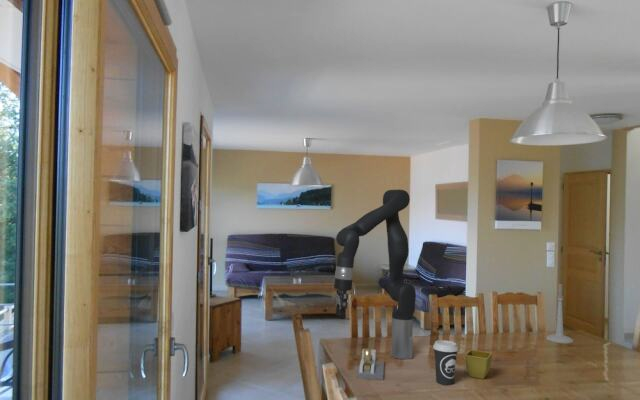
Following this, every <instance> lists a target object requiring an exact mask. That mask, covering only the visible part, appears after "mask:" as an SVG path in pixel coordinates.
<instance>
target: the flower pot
mask: <svg viewBox="0 0 640 400" xmlns="http://www.w3.org/2000/svg"><path fill="white" fill-rule="evenodd" d="M464 357H465V358H464V361H465V365H466V366H465V367H466V370H467V372H468V374H469V376H470V377H472V378H476V379H480V380H481V379H482V380H483V379H485V378H486V377H487V375H488V373H490V372H489V371H490V369H491V366H492V365H491V364H492V359H493V353H492V352H486V351H481V350H475V349H470V350H469V351H468V352H466V354H465V355H464Z"/></svg>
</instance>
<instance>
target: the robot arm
mask: <svg viewBox="0 0 640 400" xmlns="http://www.w3.org/2000/svg"><path fill="white" fill-rule="evenodd" d="M410 197H411V196H410V194H409V193H408V192H407V191H406V190H404V189H388V190H386V191H385V192H384V193H383V196H382V205H380V206H379V207H377V208H375V209H373V210H370V211H369V212H367V213H366V214H364V215H363V216H360V218H358V219H357V220H356V221H355V222H353V223H350V224H349V225H348V226H345V227H343V228H342V229H341V230H340V231H339V232H337V234H336V238H335V241H336V243H337V244H338V246H340V247H343V250H342V252H339V253H338V254H337V258H336V259H337V260H336V268H335V271H334V272H335V274H334V282H333V289H335V290H336V295H335V296H336V297H335V306H336V308H335V315H336V316H338V319H340V320H344V319H345V318H346V310H347V309H348V303H349V293H347V291H352V290H353V281H354V263H355V257H356V254H357V252H358V248H359V245H360V237H364V236H366V235H367V234H368V233H370V232H371V231H372V230H374V229H375V228H376V227H377V226H379V225H380V224H381V223H383V222H384V221H385V226H386V236H387V238H386V239H387V253H388V270H389V275H388V276H389V279H388V280H389V282H388V291H389V297H390V298H391V299H392V300H393V301H395V302H398V303H397V309H394V310H392V313H391V314H392V315H391V347H390V348H391V349H390V354H391V355H390V356H391V357H392V358H394V359H398V360H408V359H409V360H410V359H413V339H414V338H413V328H414V327H413V323H414V321H413V319H414V314H415V311H416V289H415V286H414V285H413V284H411V283H409V282H405V279H404V268H405V265H406V262H407V259H408V258H409V252H410V251H409V249H410V248H409V239H408V236H407V233H406V231H405V229H404V227H403V226H402V223H401V221H400V216H399V214H400V213H399V212H401V211H403V210H404V209H406V208H407V207H408V206H409V204H410V200H411V199H410Z"/></svg>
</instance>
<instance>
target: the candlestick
mask: <svg viewBox="0 0 640 400" xmlns="http://www.w3.org/2000/svg"><path fill="white" fill-rule="evenodd" d="M557 286H558V287H557V295H556V298H557V301H558V302H557V314H556V327H555V328H556V329H555V334H554V333H553V334H549V335H547V336H546V337H545V338H546V340H547V341H549V342H553V343H557V344H558V343H559V344H573V343H574V340H573V338H571V337H570V336H567V335H565V334H564V315H563V300H564V296H563V283H558V284H557Z"/></svg>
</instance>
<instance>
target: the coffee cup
mask: <svg viewBox="0 0 640 400" xmlns="http://www.w3.org/2000/svg"><path fill="white" fill-rule="evenodd" d="M432 348H433V351H434V364H435V365H434V366H435V369H434V370H435V382H436V383H437V384H439V385H442V386H452V385H454V383H455V375H456V366H457V358H458V357H457V356H458V351H459V350H460V349H459V347H458V344H457V343H456V342H455V341H451V340H447V339H446V340H445V339H444V340H440V339H439V340H436V341H435V342H434V344H433V346H432Z"/></svg>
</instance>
